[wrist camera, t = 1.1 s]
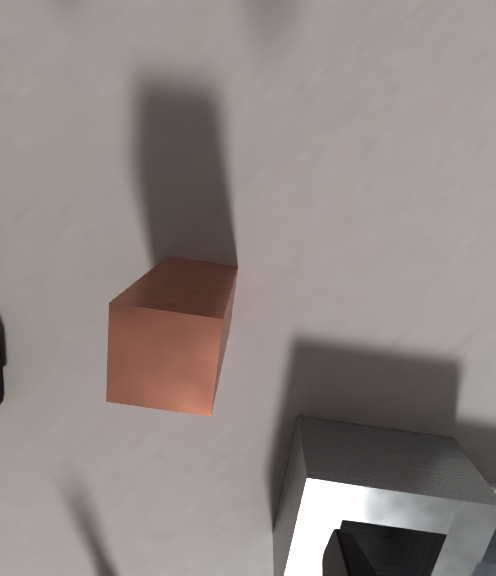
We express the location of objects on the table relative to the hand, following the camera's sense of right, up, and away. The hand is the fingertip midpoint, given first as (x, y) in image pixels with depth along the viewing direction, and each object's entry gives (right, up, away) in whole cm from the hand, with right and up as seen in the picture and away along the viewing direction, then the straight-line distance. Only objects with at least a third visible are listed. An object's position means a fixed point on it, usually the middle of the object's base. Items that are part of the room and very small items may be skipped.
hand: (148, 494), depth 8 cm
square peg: (0, +4, +12) cm, 13 cm away
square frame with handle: (+15, -9, +16) cm, 23 cm away
